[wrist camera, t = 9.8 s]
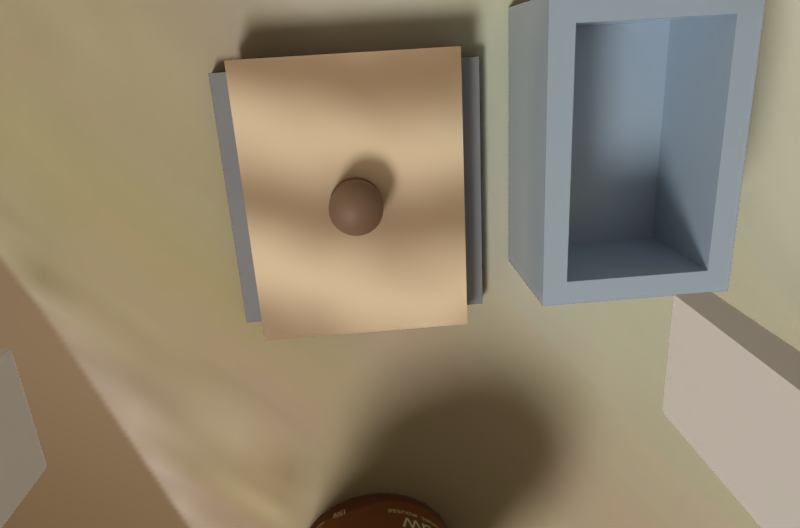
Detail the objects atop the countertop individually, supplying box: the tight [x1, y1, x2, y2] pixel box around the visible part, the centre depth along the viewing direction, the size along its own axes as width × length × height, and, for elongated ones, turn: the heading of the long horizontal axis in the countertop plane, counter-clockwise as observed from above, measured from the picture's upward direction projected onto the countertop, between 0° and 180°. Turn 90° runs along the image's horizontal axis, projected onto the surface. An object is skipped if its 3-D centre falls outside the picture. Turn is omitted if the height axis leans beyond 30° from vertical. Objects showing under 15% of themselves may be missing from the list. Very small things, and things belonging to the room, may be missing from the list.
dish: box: [509, 0, 766, 306], centre depth 26 cm, size 12×8×6 cm, turn 3°
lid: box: [224, 46, 467, 341], centre depth 28 cm, size 13×10×2 cm
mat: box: [208, 57, 482, 322], centre depth 29 cm, size 12×12×1 cm
